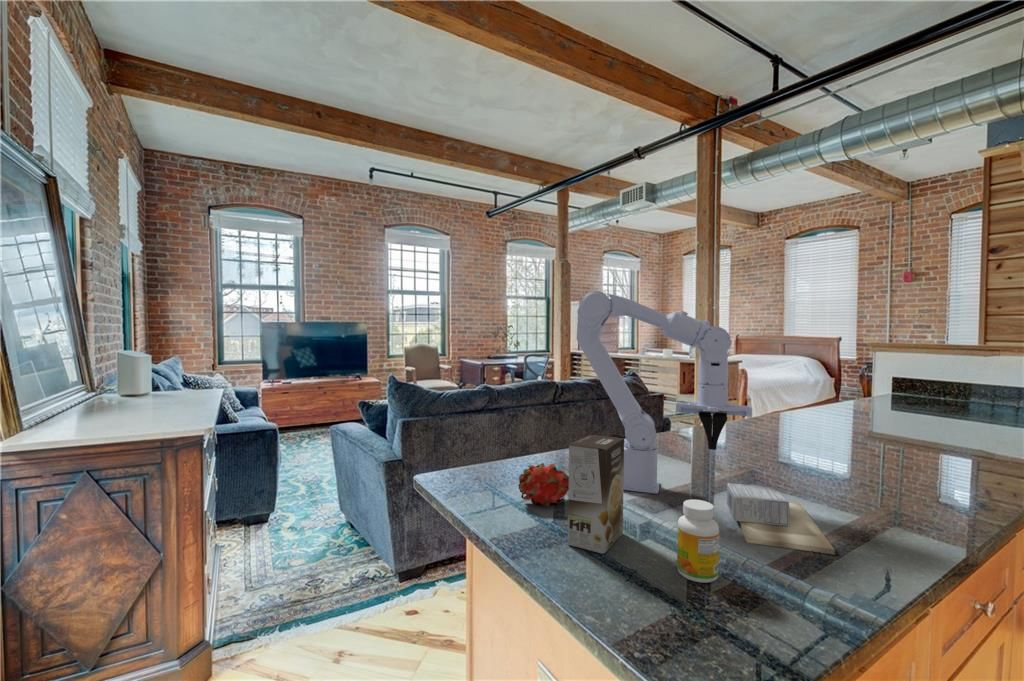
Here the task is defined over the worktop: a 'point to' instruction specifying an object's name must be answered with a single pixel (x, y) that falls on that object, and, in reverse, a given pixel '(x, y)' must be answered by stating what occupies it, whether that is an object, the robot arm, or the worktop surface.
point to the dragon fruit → (543, 484)
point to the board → (789, 533)
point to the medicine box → (757, 504)
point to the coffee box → (595, 492)
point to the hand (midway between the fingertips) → (712, 448)
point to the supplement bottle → (698, 542)
